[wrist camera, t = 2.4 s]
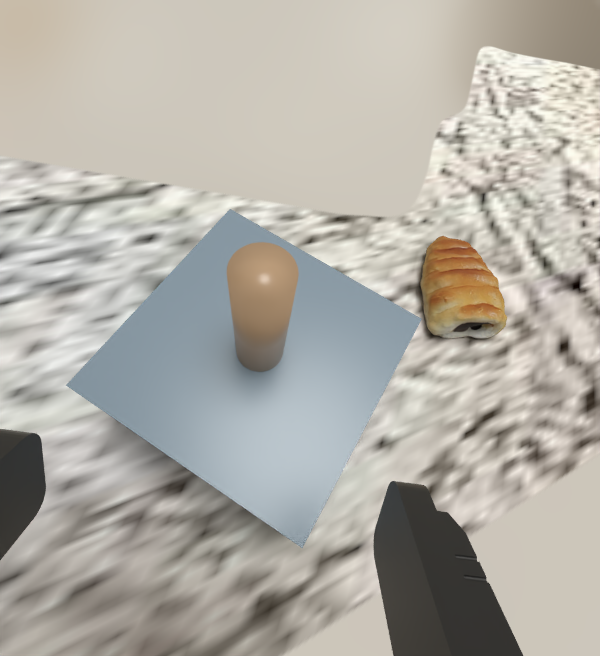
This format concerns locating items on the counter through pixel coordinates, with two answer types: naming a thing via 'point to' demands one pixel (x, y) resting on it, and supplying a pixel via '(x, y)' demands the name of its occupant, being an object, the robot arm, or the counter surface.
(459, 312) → the pastry
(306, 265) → the cover
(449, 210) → the counter surface
